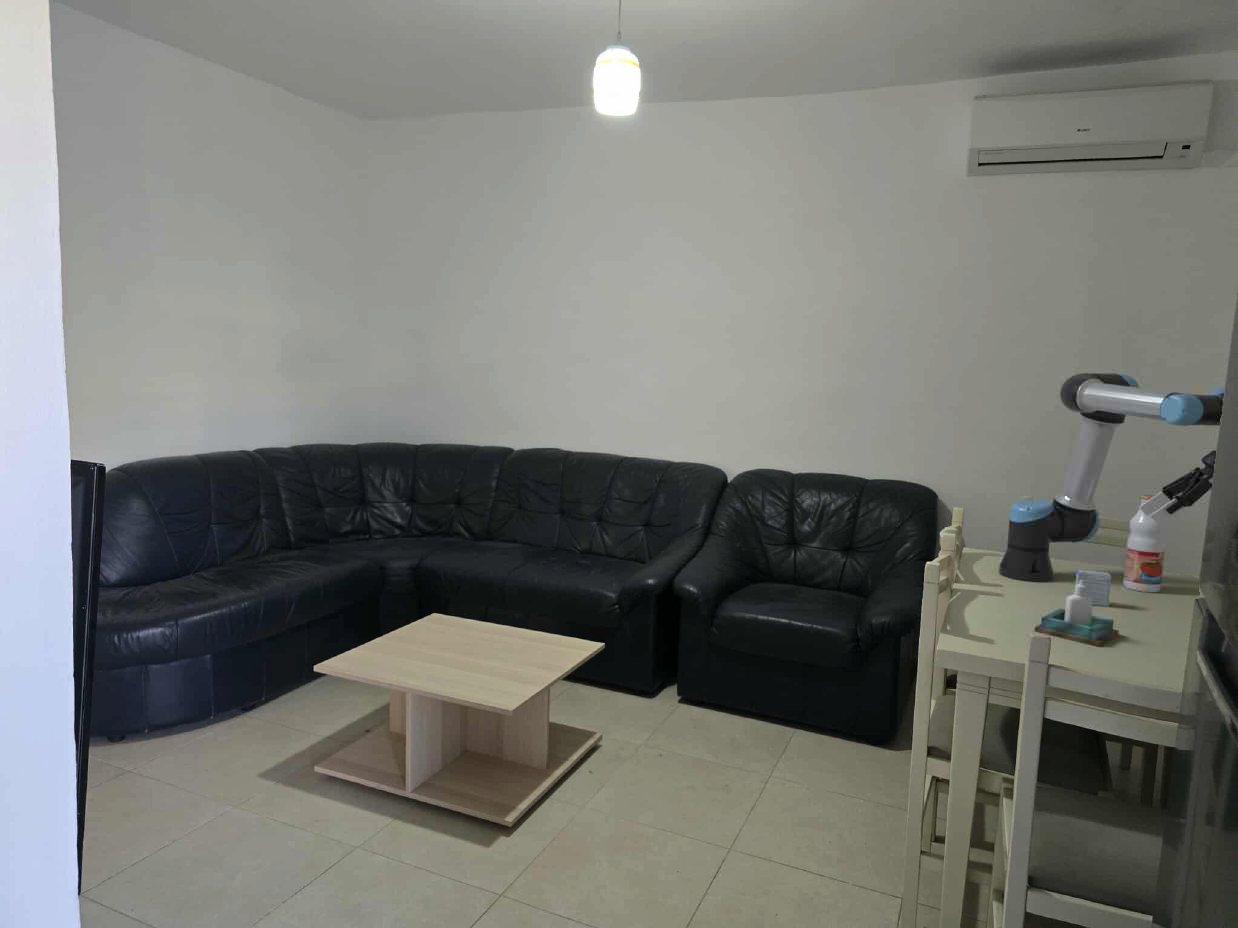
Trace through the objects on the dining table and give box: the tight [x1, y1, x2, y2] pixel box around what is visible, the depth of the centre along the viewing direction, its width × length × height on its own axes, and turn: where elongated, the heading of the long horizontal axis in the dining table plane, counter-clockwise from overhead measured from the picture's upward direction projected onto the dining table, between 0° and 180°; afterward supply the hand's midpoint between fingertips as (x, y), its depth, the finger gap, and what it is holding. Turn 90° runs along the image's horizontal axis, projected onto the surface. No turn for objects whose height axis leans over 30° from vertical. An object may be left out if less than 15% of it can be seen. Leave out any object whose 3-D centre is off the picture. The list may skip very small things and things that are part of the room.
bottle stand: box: [1034, 608, 1119, 648], centre depth 194 cm, size 14×14×4 cm
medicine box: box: [1075, 569, 1112, 608], centre depth 220 cm, size 8×4×9 cm, turn 65°
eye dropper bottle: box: [1064, 580, 1094, 627], centre depth 193 cm, size 4×6×12 cm
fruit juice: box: [1122, 494, 1167, 593], centre depth 236 cm, size 9×9×28 cm
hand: (1148, 515), depth 200 cm, fingers open, 13 cm apart
